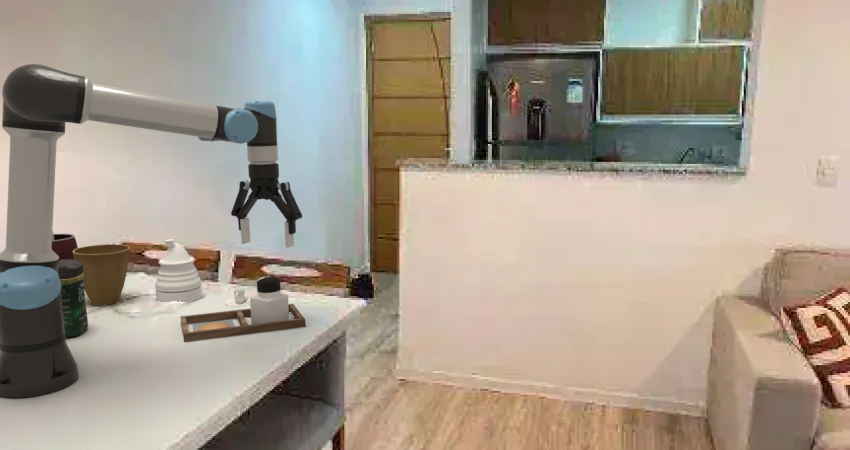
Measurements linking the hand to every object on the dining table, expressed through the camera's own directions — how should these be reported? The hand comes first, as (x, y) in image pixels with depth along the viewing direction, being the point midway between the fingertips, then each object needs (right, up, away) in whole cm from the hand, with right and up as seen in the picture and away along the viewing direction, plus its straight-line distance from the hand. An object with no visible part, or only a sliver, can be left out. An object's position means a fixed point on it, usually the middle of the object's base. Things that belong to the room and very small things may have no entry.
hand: (267, 244), depth 173 cm
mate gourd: (-74, -16, +35) cm, 83 cm away
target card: (-13, -21, -2) cm, 25 cm away
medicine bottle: (0, -21, +3) cm, 21 cm away
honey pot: (-33, -17, +26) cm, 45 cm away
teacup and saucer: (-11, -18, +23) cm, 31 cm away
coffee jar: (-49, -22, -5) cm, 54 cm away
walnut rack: (-7, -21, +1) cm, 22 cm away
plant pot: (-53, -18, +23) cm, 60 cm away
